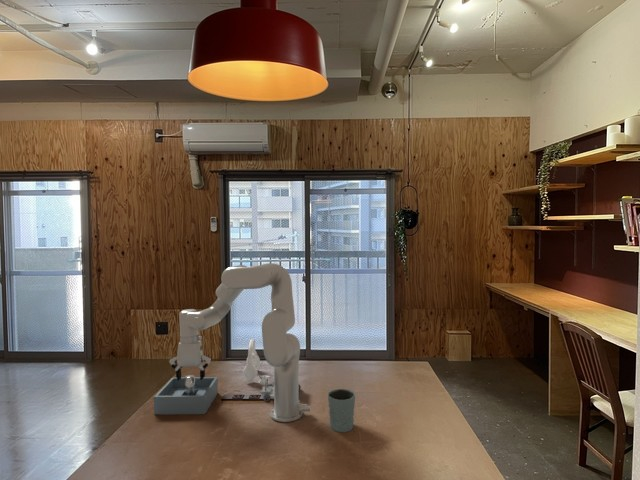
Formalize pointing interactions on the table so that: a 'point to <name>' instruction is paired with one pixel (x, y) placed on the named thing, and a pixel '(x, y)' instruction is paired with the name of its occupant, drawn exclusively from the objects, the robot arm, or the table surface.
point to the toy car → (268, 388)
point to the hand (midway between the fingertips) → (190, 379)
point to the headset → (251, 363)
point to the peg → (190, 385)
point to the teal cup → (341, 409)
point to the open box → (186, 397)
